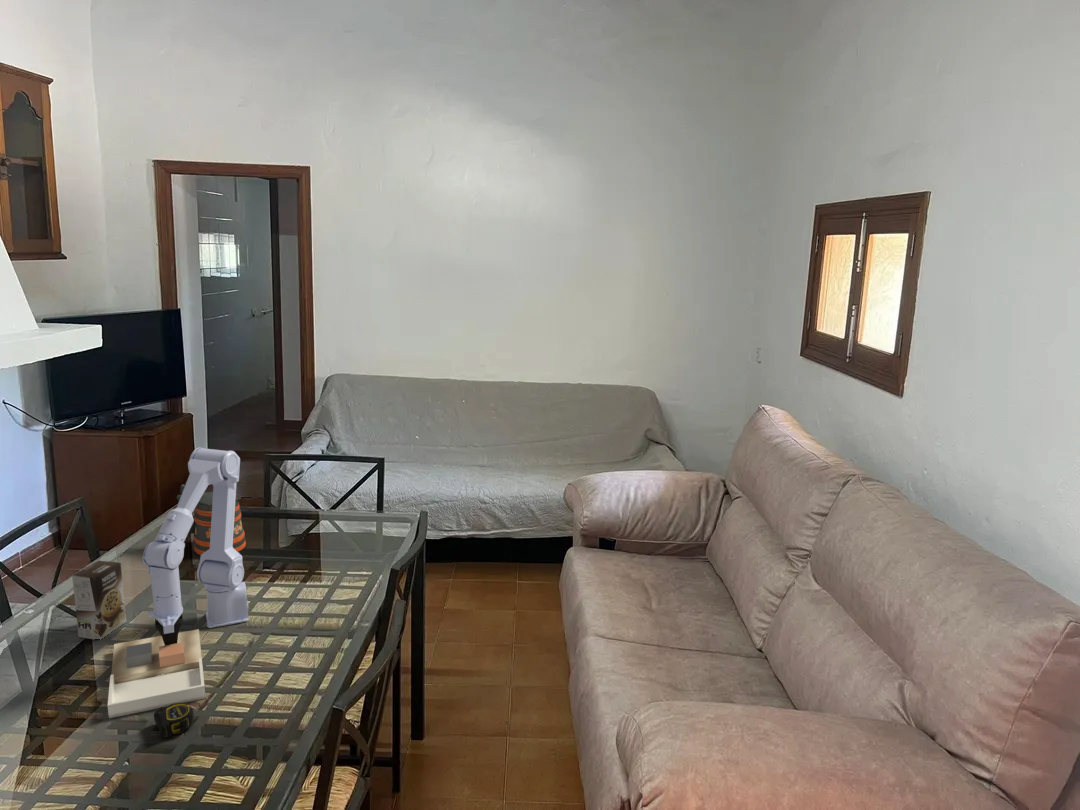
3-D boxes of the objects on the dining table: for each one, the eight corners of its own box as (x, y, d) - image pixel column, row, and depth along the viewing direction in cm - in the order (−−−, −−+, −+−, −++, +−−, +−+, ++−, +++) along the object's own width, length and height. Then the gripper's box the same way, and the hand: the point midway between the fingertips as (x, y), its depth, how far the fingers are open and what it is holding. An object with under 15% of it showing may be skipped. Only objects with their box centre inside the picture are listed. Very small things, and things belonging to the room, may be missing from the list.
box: (202, 669, 180) (201, 657, 179) (205, 698, 169) (204, 685, 169) (111, 687, 172) (110, 674, 172) (108, 718, 162) (107, 705, 161)
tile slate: (152, 652, 182) (151, 642, 182) (152, 663, 178) (151, 653, 177) (127, 656, 180) (126, 646, 180) (127, 668, 176) (126, 657, 175)
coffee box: (101, 641, 190) (94, 578, 186) (77, 637, 191) (70, 575, 187) (128, 622, 199) (121, 562, 195) (105, 619, 200) (98, 559, 196)
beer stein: (171, 559, 234) (166, 494, 229) (186, 539, 248) (181, 477, 243) (239, 557, 236) (235, 493, 232) (250, 537, 250) (247, 476, 246)
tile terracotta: (184, 652, 183) (183, 642, 182) (184, 663, 178) (184, 652, 178) (160, 656, 181) (159, 646, 180) (160, 667, 176) (159, 657, 176)
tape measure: (154, 724, 161) (152, 708, 160) (190, 713, 165) (189, 697, 164) (160, 743, 155) (158, 726, 154) (197, 731, 159) (196, 715, 158)
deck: (199, 636, 193) (198, 629, 193) (202, 669, 180) (201, 661, 180) (115, 651, 186) (114, 644, 185) (111, 686, 173) (110, 678, 172)
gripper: (146, 581, 184) (152, 635, 187) (146, 610, 171) (151, 667, 174) (180, 576, 187) (185, 629, 190) (182, 604, 174) (186, 660, 177)
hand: (171, 647), depth 182 cm, fingers closed
